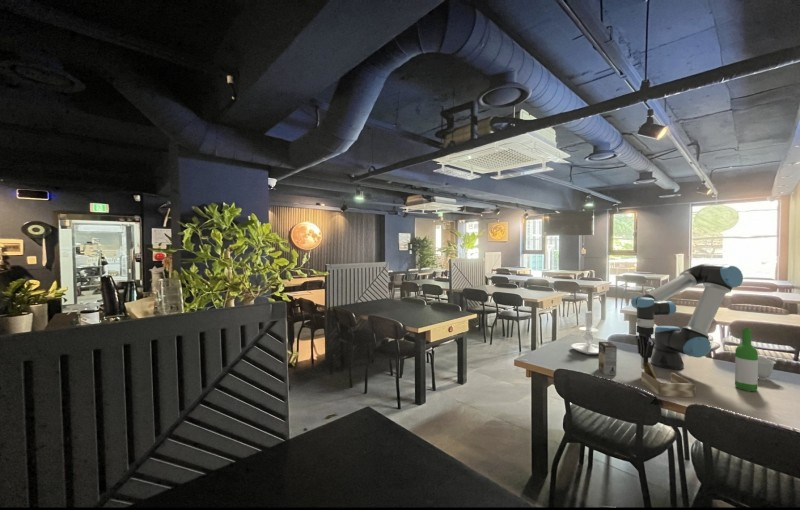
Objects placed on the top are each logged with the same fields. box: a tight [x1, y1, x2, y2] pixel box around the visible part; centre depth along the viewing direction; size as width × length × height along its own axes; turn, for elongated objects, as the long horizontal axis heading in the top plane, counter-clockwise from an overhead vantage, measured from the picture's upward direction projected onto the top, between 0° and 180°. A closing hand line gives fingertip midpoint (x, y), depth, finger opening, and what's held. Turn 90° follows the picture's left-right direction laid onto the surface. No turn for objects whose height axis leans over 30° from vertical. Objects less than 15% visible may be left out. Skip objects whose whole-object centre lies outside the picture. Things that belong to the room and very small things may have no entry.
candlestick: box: [570, 310, 599, 355], centre depth 217 cm, size 21×25×28 cm
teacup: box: [758, 355, 777, 381], centre depth 175 cm, size 12×15×10 cm
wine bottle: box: [734, 327, 759, 392], centre depth 162 cm, size 8×8×30 cm
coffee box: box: [598, 341, 618, 376], centre depth 186 cm, size 9×6×16 cm
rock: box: [643, 361, 657, 380], centre depth 174 cm, size 11×9×10 cm
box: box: [640, 371, 696, 398], centre depth 162 cm, size 15×14×6 cm
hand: (644, 368), depth 179 cm, fingers closed
